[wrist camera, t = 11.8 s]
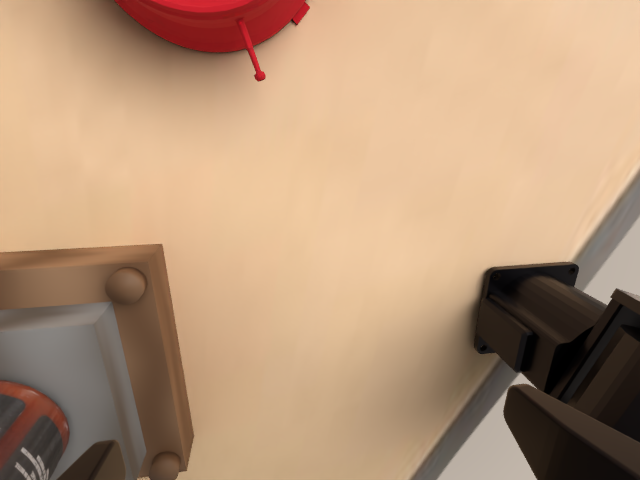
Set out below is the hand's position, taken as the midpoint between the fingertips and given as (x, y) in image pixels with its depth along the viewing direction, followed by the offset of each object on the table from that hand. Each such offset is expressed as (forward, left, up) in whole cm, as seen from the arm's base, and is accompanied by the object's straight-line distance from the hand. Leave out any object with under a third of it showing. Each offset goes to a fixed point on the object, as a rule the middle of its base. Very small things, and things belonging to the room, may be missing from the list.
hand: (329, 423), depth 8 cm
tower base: (+14, +7, -13) cm, 20 cm away
